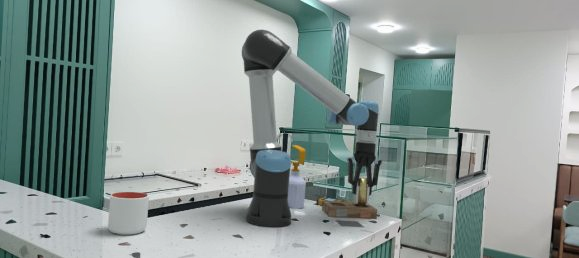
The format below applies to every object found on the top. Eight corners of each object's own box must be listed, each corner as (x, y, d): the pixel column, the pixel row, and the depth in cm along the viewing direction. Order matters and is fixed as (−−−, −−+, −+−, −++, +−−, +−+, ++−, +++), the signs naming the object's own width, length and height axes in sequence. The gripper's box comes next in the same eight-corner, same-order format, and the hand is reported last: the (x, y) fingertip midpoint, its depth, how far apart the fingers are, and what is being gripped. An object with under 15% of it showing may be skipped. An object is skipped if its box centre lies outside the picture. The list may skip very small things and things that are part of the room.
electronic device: (350, 213, 164) (351, 205, 164) (315, 206, 172) (316, 198, 171) (358, 210, 171) (359, 202, 171) (324, 203, 179) (325, 195, 179)
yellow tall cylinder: (357, 210, 155) (359, 178, 155) (354, 208, 159) (357, 177, 159) (366, 210, 156) (369, 179, 156) (363, 208, 160) (366, 177, 159)
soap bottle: (289, 203, 171) (294, 144, 171) (308, 207, 166) (313, 146, 166) (276, 205, 164) (281, 144, 164) (295, 210, 159) (300, 146, 158)
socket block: (376, 220, 152) (377, 209, 152) (329, 218, 150) (330, 207, 149) (366, 212, 164) (366, 202, 164) (322, 210, 162) (322, 200, 162)
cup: (108, 237, 107) (111, 199, 107) (106, 227, 116) (109, 191, 116) (148, 235, 112) (151, 198, 112) (143, 225, 121) (146, 191, 121)
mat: (341, 227, 137) (341, 226, 137) (335, 221, 145) (335, 220, 145) (364, 228, 138) (364, 227, 138) (357, 222, 146) (357, 221, 146)
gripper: (347, 141, 152) (342, 204, 153) (390, 144, 155) (385, 206, 155) (342, 140, 160) (337, 199, 160) (383, 143, 162) (378, 202, 162)
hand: (360, 202), depth 158 cm, fingers closed on yellow tall cylinder, 3 cm apart
